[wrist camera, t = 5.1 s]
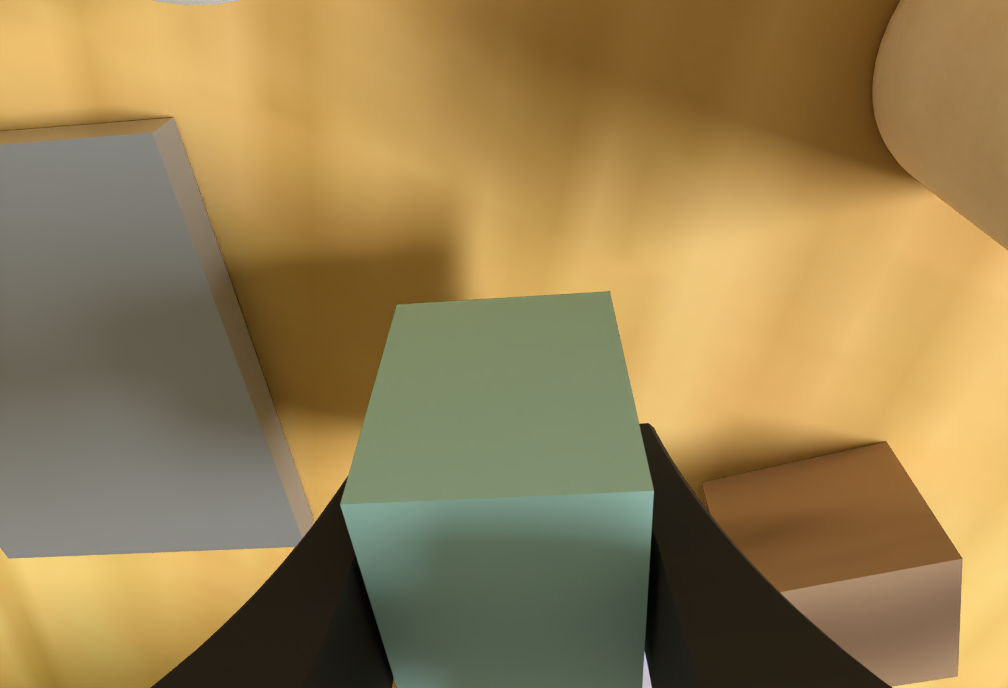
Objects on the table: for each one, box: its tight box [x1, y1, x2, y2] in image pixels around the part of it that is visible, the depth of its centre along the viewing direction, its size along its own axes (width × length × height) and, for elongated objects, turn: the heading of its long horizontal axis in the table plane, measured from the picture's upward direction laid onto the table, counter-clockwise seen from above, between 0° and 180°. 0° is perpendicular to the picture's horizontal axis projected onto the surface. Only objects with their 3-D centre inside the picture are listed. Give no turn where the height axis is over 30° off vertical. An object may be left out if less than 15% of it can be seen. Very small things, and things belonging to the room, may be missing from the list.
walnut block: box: [701, 442, 962, 687], centre depth 19 cm, size 5×5×4 cm
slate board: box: [0, 117, 314, 558], centre depth 17 cm, size 12×9×1 cm
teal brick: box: [340, 291, 654, 688], centre depth 12 cm, size 6×4×5 cm, turn 4°
